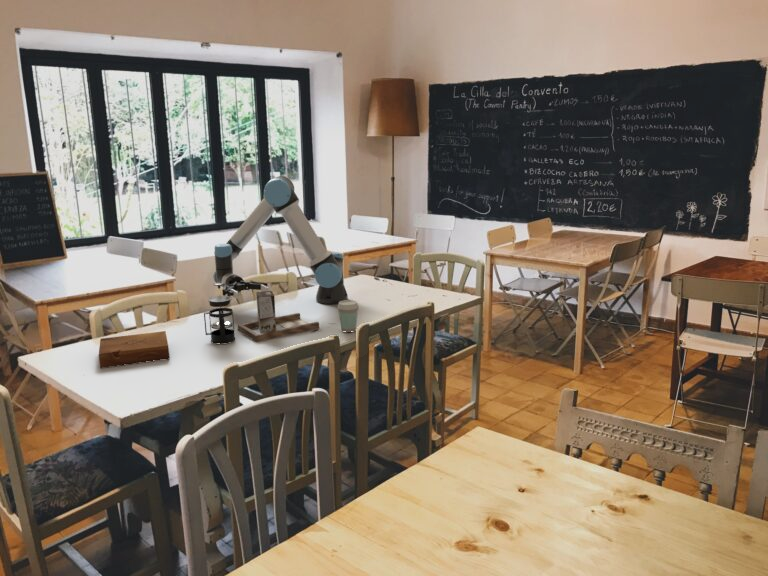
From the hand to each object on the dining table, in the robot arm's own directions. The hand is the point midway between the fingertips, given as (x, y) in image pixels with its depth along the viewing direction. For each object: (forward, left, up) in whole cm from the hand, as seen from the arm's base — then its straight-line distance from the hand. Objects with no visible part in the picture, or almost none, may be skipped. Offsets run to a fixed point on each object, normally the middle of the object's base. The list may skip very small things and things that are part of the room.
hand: (253, 293), depth 263 cm
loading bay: (-6, +11, -14) cm, 19 cm away
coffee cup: (-28, +30, -14) cm, 43 cm away
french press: (+18, +10, -14) cm, 25 cm away
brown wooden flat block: (+50, +7, -15) cm, 53 cm away
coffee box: (-1, +11, -14) cm, 18 cm away
